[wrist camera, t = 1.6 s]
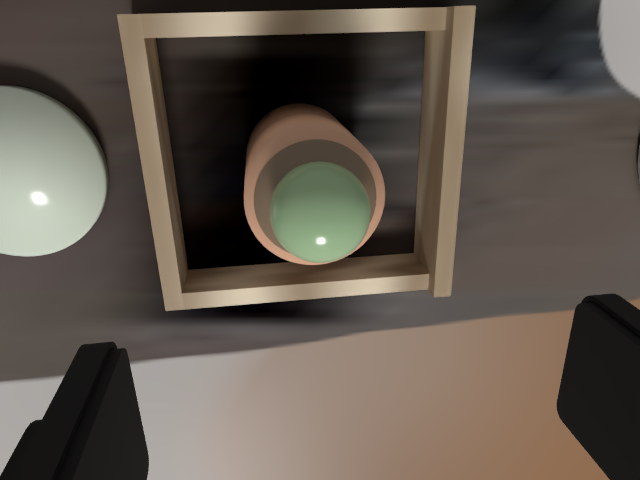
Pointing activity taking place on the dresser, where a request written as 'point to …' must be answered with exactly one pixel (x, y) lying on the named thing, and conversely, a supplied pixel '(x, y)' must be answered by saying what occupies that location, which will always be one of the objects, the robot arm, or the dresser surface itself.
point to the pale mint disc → (46, 174)
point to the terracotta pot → (310, 186)
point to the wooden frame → (347, 273)
